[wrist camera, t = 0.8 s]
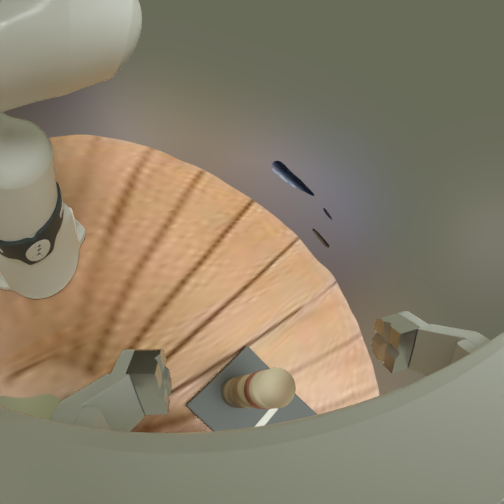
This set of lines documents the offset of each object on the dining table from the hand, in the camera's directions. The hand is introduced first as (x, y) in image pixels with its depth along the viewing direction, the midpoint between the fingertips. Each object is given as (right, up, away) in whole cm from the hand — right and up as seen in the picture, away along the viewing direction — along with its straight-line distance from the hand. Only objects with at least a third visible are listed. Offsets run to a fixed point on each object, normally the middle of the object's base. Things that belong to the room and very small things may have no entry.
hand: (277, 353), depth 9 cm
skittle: (-3, -18, +28) cm, 33 cm away
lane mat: (0, -23, +29) cm, 36 cm away
